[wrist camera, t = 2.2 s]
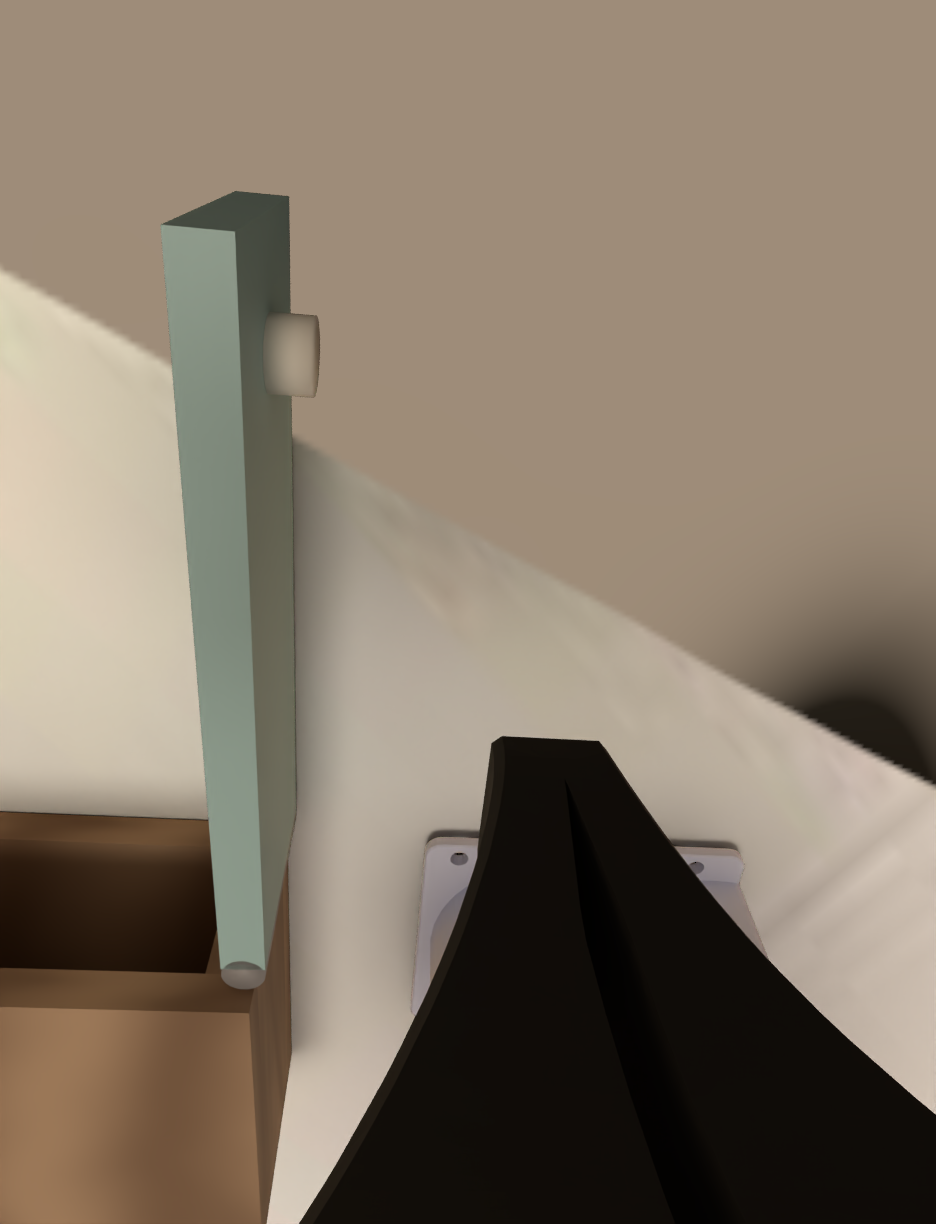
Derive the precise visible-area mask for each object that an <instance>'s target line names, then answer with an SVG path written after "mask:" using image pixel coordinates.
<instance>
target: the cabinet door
mask: <svg viewBox="0 0 936 1224" xmlns="http://www.w3.org/2000/svg"><path fill="white" fill-rule="evenodd" d="M289 234H290V233H289V197H288V196H280V195H270V194H260V193H259V194H258V193H249V192H239V191H235V192H232V193H231V194H228V195H226V196H223V197H221V198H219V199H217V200H215V201H213V202H210V203H208V204H206V205H203V206H201V207H199V208H197V209H194V210H192V211H190V212H188V213H186V214H183V215H181V216H179V217H177V218H174V219H172V220H170V221H168V222H165V223H163V224H161V236H162V248H163V261H164V273H165V284H166V285H165V286H166V298H167V311H168V323H169V336H170V347H171V360H172V373H173V385H174V398H175V410H176V422H177V435H178V447H179V460H180V472H181V485H182V497H183V509H184V522H185V534H186V547H187V559H188V571H189V584H190V596H191V609H192V621H193V633H194V646H195V658H196V671H197V683H198V696H199V708H200V720H201V733H202V745H203V758H204V770H205V782H206V795H207V807H208V820H209V832H210V844H211V857H212V869H213V882H214V894H215V907H216V919H217V931H218V944H219V956H220V969H222V971H221V977H222V979H223V981H224V982H225V983H226V984H228V985H229V986H231V987H234V988H237V989H253V988H256V987H258V986H260V985H261V984H262V983H263V982H264V980H265V977H266V971H267V966H268V961H269V956H270V950H271V945H272V940H273V935H274V929H275V924H276V919H277V914H278V909H279V903H280V898H281V893H282V888H283V882H284V877H285V872H286V867H287V861H288V856H289V851H290V846H291V841H292V835H293V830H294V825H295V820H296V758H295V670H294V583H293V495H292V408H291V396H300V397H312V398H314V397H315V395H316V391H317V385H318V375H319V360H320V334H319V322H318V317H317V316H314V315H303V314H291V313H290V235H289Z"/></svg>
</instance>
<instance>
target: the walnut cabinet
mask: <svg viewBox="0 0 936 1224" xmlns="http://www.w3.org/2000/svg"><path fill="white" fill-rule="evenodd" d="M221 971H222V969H220V956H219V944H218V931H217V919H216V907H215V894H214V882H213V869H212V857H211V844H210V832H209V821H202V820H178V819H154V818H130V817H106V816H82V815H58V814H34V813H10V812H0V1224H266V1223H267V1216H268V1209H269V1203H270V1196H271V1189H272V1182H273V1176H274V1169H275V1162H276V1155H277V1149H278V1142H279V1135H280V1128H281V1122H282V1115H283V1108H284V1101H285V1095H286V1088H287V1081H288V1074H289V1068H290V1061H291V1000H290V946H289V892H288V861H287V867H286V872H285V877H284V882H283V888H282V893H281V898H280V903H279V909H278V914H277V919H276V924H275V929H274V935H273V940H272V945H271V950H270V956H269V961H268V966H267V971H266V977H265V980H264V982H263V983H262V984H261V985H260V986H258V987H256V988H253V989H237V988H234V987H231V986H229V985H228V984H226V983H225V982H224V981H223V979H222V977H221Z"/></svg>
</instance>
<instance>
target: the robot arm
mask: <svg viewBox="0 0 936 1224" xmlns="http://www.w3.org/2000/svg"><path fill="white" fill-rule="evenodd" d="M459 852H461V853H465V854H463V855H455V853H459ZM693 862H697V863H695V864H691V863H693ZM744 865H745V864H744V862H743V859H742V857H741V855H740V853H739V852H738V851H736V850H733V849H727V848H702V847H678V846H673V844H672V843H671V842H670V841H669V839H668V838H667V837H666V835H665V834H664V832H663V831H662V830H661V828H660V827H659V826H658V824H657V823H656V822H655V820H654V819H653V817H652V816H651V815H650V813H649V812H648V810H647V809H646V807H645V806H644V805H643V803H642V802H641V800H640V799H639V798H638V796H637V795H636V793H635V792H634V790H633V789H632V787H631V786H630V785H629V783H628V782H627V780H626V779H625V777H624V776H623V774H622V773H621V771H620V770H619V768H618V767H617V765H616V764H615V762H614V761H613V759H612V758H611V756H610V755H609V753H608V752H607V750H606V749H605V748H604V747H603V745H602V744H601V743H600V742H599V741H587V740H567V739H547V738H526V737H506V736H502V737H500V738H499V739H497V740H496V741H494V742H493V743H492V744H491V752H490V759H489V767H488V774H487V781H486V789H485V796H484V804H483V811H482V818H481V826H480V833H479V838H459V837H437V838H434V839H432V840H430V841H429V842H428V843H427V844H426V847H425V853H424V864H423V874H422V885H421V896H420V907H419V918H418V929H417V940H416V950H415V961H414V972H413V983H412V994H411V1012H412V1013H413V1014H414V1016H415V1018H414V1020H413V1022H412V1025H411V1027H410V1029H409V1031H408V1033H407V1035H406V1037H405V1039H404V1041H403V1043H402V1045H401V1047H400V1049H399V1051H398V1053H397V1055H396V1057H395V1059H394V1061H393V1063H392V1065H391V1067H390V1069H389V1071H388V1073H387V1075H386V1077H385V1078H384V1080H383V1082H382V1084H381V1086H380V1088H379V1089H378V1091H377V1093H376V1095H375V1097H374V1098H373V1100H372V1102H371V1104H370V1105H369V1107H368V1109H367V1111H366V1113H365V1114H364V1116H363V1118H362V1120H361V1121H360V1123H359V1125H358V1127H357V1129H356V1130H355V1132H354V1134H353V1136H352V1137H351V1139H350V1141H349V1143H348V1145H347V1146H346V1148H345V1150H344V1152H343V1153H342V1155H341V1157H340V1159H339V1160H338V1162H337V1164H336V1165H335V1167H334V1169H333V1170H332V1172H331V1174H330V1175H329V1177H328V1179H327V1180H326V1182H325V1184H324V1185H323V1187H322V1188H321V1190H320V1192H319V1193H318V1195H317V1196H316V1198H315V1199H314V1201H313V1203H312V1204H311V1206H310V1207H309V1209H308V1210H307V1212H306V1214H305V1215H304V1217H303V1218H302V1220H301V1221H300V1223H299V1224H936V1115H935V1114H934V1113H933V1112H932V1111H931V1110H929V1109H928V1108H927V1107H926V1106H925V1105H923V1104H922V1103H921V1102H920V1101H919V1100H917V1099H916V1098H915V1097H914V1096H913V1095H912V1094H910V1093H909V1092H908V1091H907V1090H906V1089H905V1088H904V1087H902V1086H901V1085H900V1084H899V1083H898V1082H897V1081H896V1080H894V1079H893V1078H892V1077H891V1076H890V1075H889V1074H888V1073H886V1072H885V1071H884V1070H883V1069H882V1068H881V1067H880V1066H879V1065H877V1064H876V1063H875V1062H874V1061H873V1060H872V1059H871V1058H869V1057H868V1056H867V1055H866V1054H865V1053H864V1052H863V1051H861V1050H860V1049H859V1048H858V1047H857V1046H856V1045H855V1044H853V1043H852V1042H851V1041H850V1040H849V1039H848V1038H847V1037H846V1036H845V1035H844V1034H843V1033H841V1032H840V1031H839V1030H838V1029H837V1028H836V1027H835V1026H834V1025H833V1024H832V1023H831V1022H830V1021H829V1020H828V1019H827V1018H825V1017H824V1016H823V1015H822V1014H821V1013H820V1012H819V1011H818V1010H817V1009H816V1008H815V1007H814V1006H813V1005H812V1004H811V1003H810V1002H809V1001H808V1000H807V999H806V998H805V997H804V996H803V995H802V994H801V993H800V992H799V991H798V990H797V989H796V988H795V987H794V986H793V985H792V984H791V983H790V982H789V981H788V980H787V979H786V978H785V977H784V976H783V975H782V974H781V973H780V971H779V970H778V969H777V968H776V967H775V966H774V965H773V964H772V963H771V962H770V961H769V959H768V957H767V954H766V951H765V949H764V946H763V944H762V941H761V939H760V936H759V934H758V931H757V928H756V926H755V923H754V921H753V918H752V916H751V913H750V911H749V908H748V906H747V903H746V900H745V898H744V895H743V893H742V890H741V888H740V885H739V882H740V879H741V876H742V874H743V871H744Z"/></svg>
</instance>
